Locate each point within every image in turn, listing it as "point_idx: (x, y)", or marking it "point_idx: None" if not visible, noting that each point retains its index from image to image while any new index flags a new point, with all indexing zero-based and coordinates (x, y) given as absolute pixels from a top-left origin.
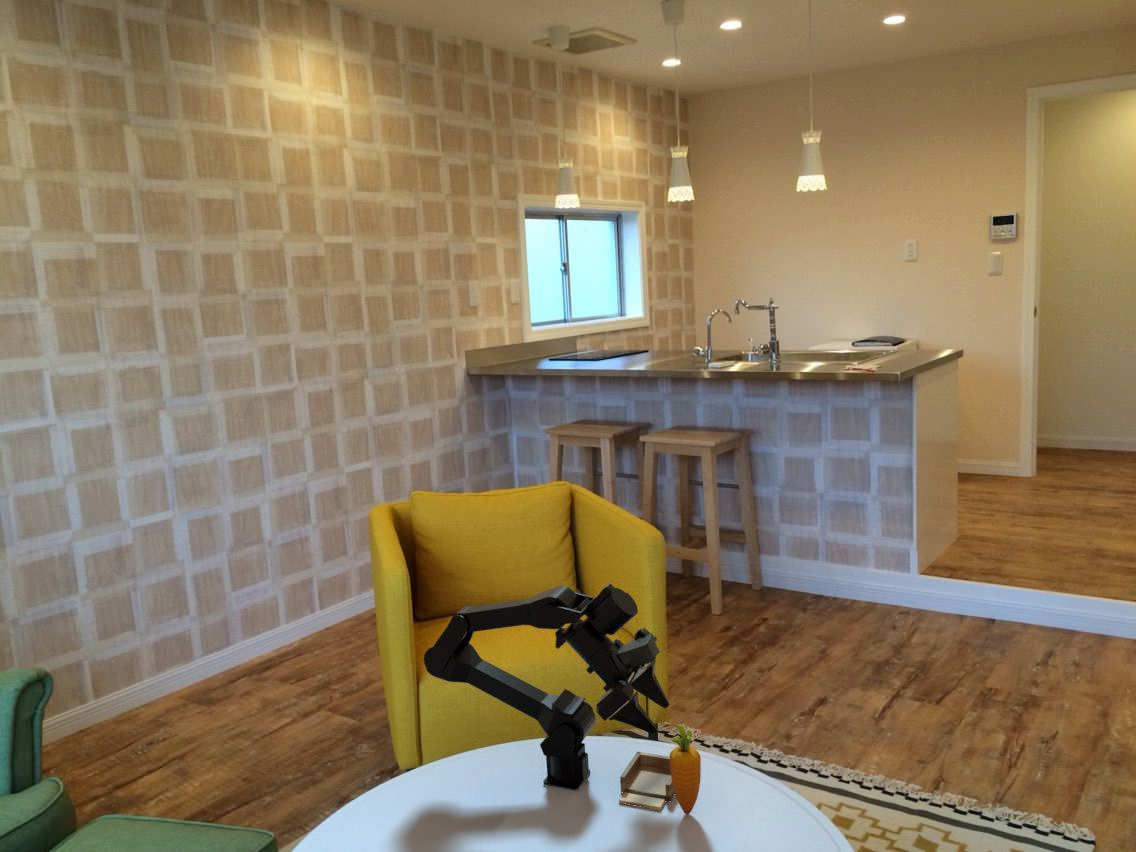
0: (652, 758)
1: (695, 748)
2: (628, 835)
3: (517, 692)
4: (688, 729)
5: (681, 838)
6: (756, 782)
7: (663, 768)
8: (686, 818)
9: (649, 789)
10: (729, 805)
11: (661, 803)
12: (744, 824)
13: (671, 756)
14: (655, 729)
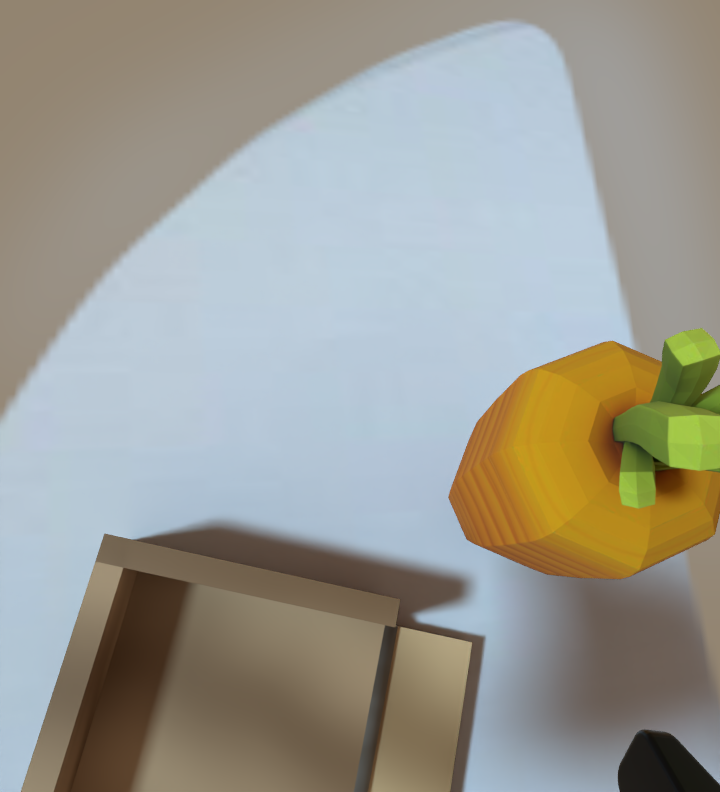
0: (70, 752)
1: (557, 368)
2: None
3: None
4: (703, 352)
5: None
6: (188, 220)
7: (108, 668)
8: None
9: (335, 724)
10: (380, 332)
11: (436, 640)
12: (506, 279)
13: (667, 557)
14: (684, 753)
